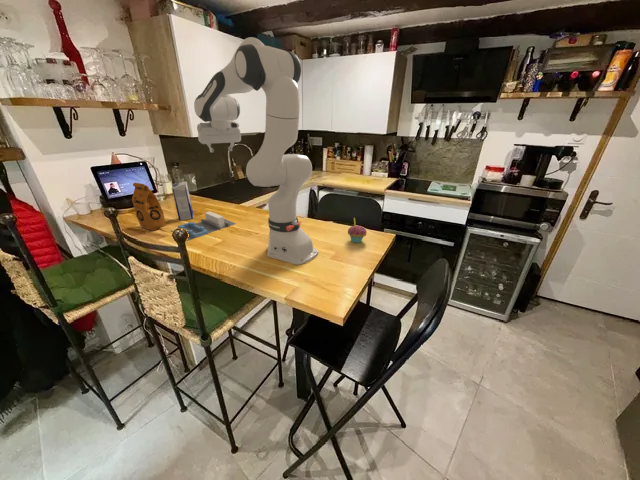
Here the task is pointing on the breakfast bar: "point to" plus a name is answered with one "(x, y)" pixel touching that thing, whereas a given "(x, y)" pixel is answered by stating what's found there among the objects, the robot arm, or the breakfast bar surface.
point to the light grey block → (215, 218)
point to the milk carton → (182, 200)
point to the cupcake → (356, 233)
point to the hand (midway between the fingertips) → (221, 151)
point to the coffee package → (147, 208)
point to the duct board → (203, 228)
